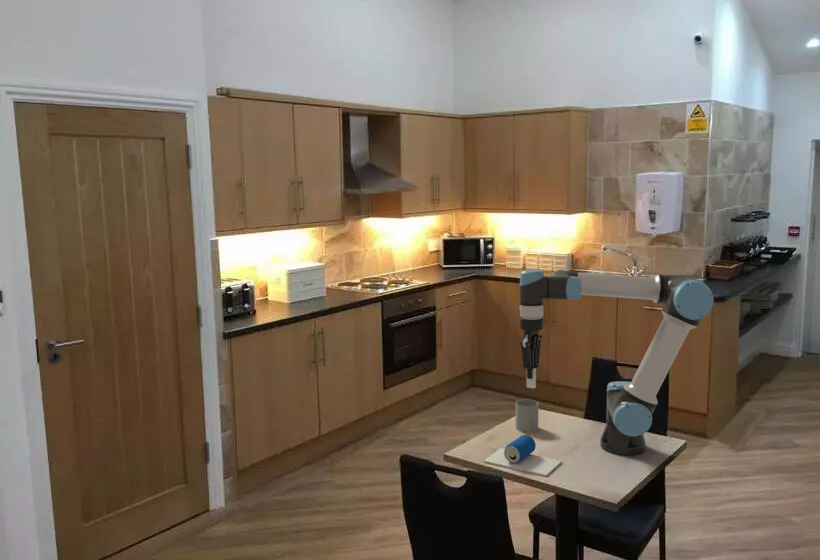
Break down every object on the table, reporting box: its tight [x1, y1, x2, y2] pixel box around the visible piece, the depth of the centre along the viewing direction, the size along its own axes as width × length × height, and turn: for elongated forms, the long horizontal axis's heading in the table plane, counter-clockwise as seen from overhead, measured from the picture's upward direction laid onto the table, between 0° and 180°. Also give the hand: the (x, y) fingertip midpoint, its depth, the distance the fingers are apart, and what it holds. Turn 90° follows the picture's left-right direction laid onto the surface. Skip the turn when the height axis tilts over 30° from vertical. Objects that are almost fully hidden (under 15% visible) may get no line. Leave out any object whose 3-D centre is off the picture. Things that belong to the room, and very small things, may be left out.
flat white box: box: [483, 447, 563, 477], centre depth 236 cm, size 22×13×1 cm, turn 57°
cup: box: [514, 398, 540, 433], centre depth 267 cm, size 8×8×10 cm
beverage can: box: [504, 434, 537, 463], centre depth 238 cm, size 6×6×12 cm
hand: (531, 387), depth 237 cm, fingers closed
